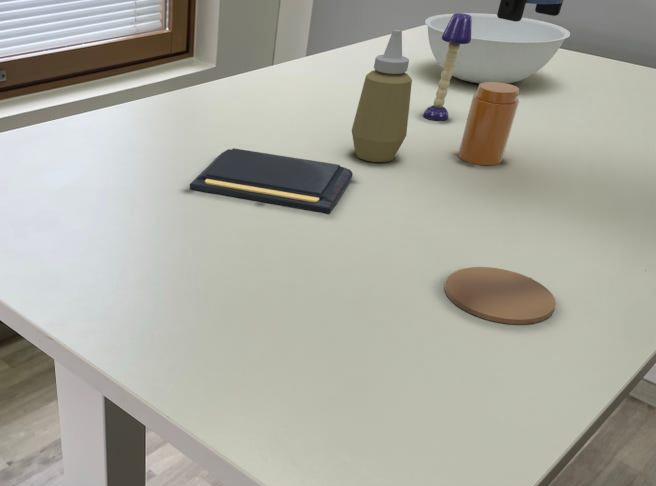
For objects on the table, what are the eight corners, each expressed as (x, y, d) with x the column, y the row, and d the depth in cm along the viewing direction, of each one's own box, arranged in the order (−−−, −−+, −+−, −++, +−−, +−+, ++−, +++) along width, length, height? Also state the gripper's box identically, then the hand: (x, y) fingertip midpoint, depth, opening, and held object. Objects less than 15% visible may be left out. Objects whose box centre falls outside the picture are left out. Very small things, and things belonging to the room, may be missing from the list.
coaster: (573, 301, 76) (575, 296, 76) (517, 336, 71) (519, 331, 70) (481, 262, 83) (482, 257, 83) (423, 291, 78) (425, 286, 77)
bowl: (412, 89, 142) (423, 35, 136) (416, 57, 163) (426, 9, 157) (561, 104, 135) (579, 47, 130) (545, 69, 157) (561, 19, 151)
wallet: (357, 163, 103) (330, 202, 92) (355, 175, 104) (328, 215, 93) (226, 141, 109) (186, 175, 98) (225, 153, 111) (186, 188, 99)
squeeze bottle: (388, 170, 106) (413, 39, 96) (338, 157, 110) (358, 30, 100) (409, 155, 111) (436, 30, 101) (361, 143, 115) (382, 22, 105)
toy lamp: (442, 112, 130) (466, 11, 120) (456, 120, 126) (482, 16, 116) (418, 114, 129) (440, 12, 119) (432, 122, 125) (456, 17, 115)
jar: (509, 159, 111) (531, 88, 105) (486, 168, 108) (507, 95, 101) (473, 147, 115) (491, 78, 109) (449, 156, 112) (467, 85, 105)
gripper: (589, -154, 88) (543, 6, 98) (497, -156, 80) (458, 18, 91) (649, -153, 83) (594, 15, 93) (557, -156, 75) (509, 29, 86)
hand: (528, 15), depth 92 cm, fingers closed on lid, 7 cm apart
